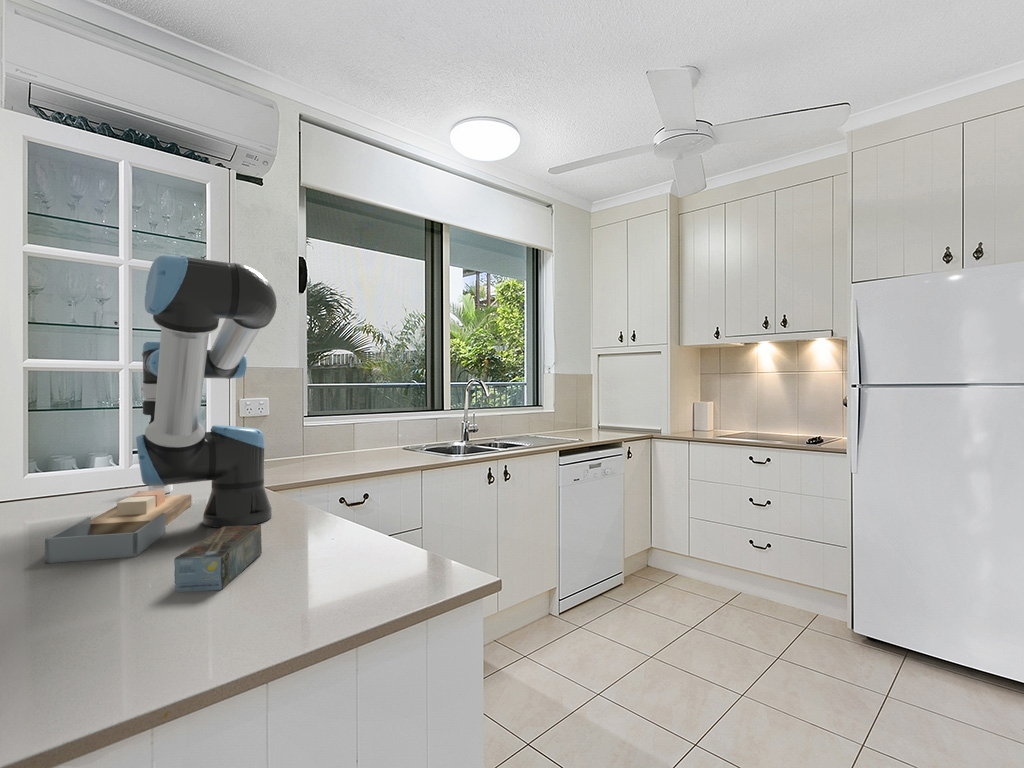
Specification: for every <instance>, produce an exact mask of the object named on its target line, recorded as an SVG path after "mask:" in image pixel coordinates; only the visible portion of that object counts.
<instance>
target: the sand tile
mask: <svg viewBox="0 0 1024 768" xmlns="http://www.w3.org/2000/svg"><path fill="white" fill-rule="evenodd" d="M116 506H117V516H118V515H135V514H147V513H149V512H150V511H152V510H153V509H155V508H156V496H143V497H129V496H127V497H126V498H123V499H121V500H119V501H117V502H116Z"/></svg>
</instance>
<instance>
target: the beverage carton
mask: <svg viewBox="0 0 1024 768" xmlns="http://www.w3.org/2000/svg"><path fill="white" fill-rule="evenodd" d="M262 550H263V549H262V525H261V524H252V525H247V526H245V525H238V526H223V527H219V528H218V529H217V530H215V531H214V532H213V533H211V534H209V535H208V536H207V537H205V538H204V539H202V540H201V541H200V542H198V543H196V544H195V545H193V546H192V547H190V548H188V550H186V551H183V552H182V553H181V554H179V555H177V556H176V557H174V559H173V560H174V573H173V574H174V576H173V577H174V585H175V586H174V587H175V593H176V592H177V593H178V592H207V591H222V590H223V589H224V588H225V587H226V586H228V585H229V584H230V583H231V582H232V581H233V580H235V579H236V578H237V576H239V575H240V574H241V573H242V572H243V571H244V570H245V569H246V568H247V567H248V566H250V565H251V564H252V563H253V562H254V561H255V560H256V559H257V558H258V557H260V555H262V553H263V552H262Z"/></svg>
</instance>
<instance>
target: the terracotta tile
mask: <svg viewBox="0 0 1024 768" xmlns="http://www.w3.org/2000/svg"><path fill="white" fill-rule="evenodd" d="M143 496H156V507H158V506H159V505H161V504H162V503H164V502H165V496H166V494H165V490H159V491H148V490H145V491H144V490H141V491H137V492H135V493H133V494H131V495H129V496H128V497H143Z"/></svg>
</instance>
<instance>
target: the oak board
mask: <svg viewBox="0 0 1024 768" xmlns="http://www.w3.org/2000/svg"><path fill="white" fill-rule="evenodd" d="M191 506H192V494H177V495H165V502H164V503H162V504H161V505H159V506H158V507H156V508H155V509H153V510H152V511H150V512H149V513H147V514H135V515H118V516H117V505H116V506H114V507H112V508H110V509H108V510H107V511H105V512H103V513H101V514H100V515H99V514H98V515H97V516H96V517H94V518H91V535H98V534H113V533H129V532H136V531H137V530H139V529H140V528H141V527H143V526H144V525H146V524H147V523H149V522H150V521H151V520H153V519H154V518H156V517H157V516H159V515H160V514H161V513H165V527H166V526H167V525H168V524H169V523H171V522H172V521H173V520H174V519H176V518H177V517H179V516H180V515H181V514H182V513H184V512H186V510H188V509H189V508H190V507H191Z"/></svg>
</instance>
